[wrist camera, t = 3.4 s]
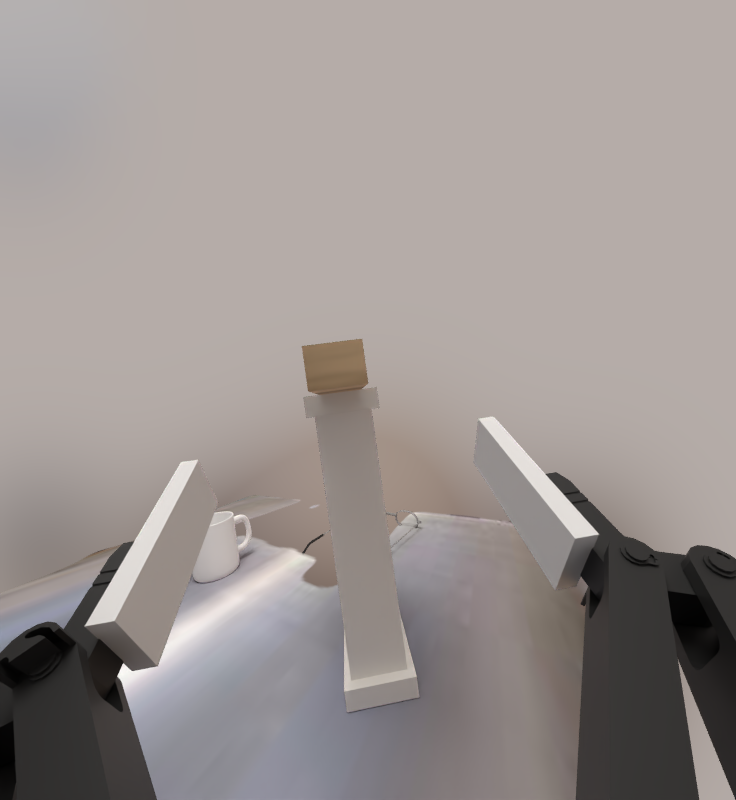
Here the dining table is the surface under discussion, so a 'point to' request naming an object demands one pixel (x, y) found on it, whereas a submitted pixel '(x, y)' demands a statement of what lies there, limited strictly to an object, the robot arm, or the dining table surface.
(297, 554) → the dining table surface
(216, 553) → the cup
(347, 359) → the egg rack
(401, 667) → the pedestal
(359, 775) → the dining table surface
